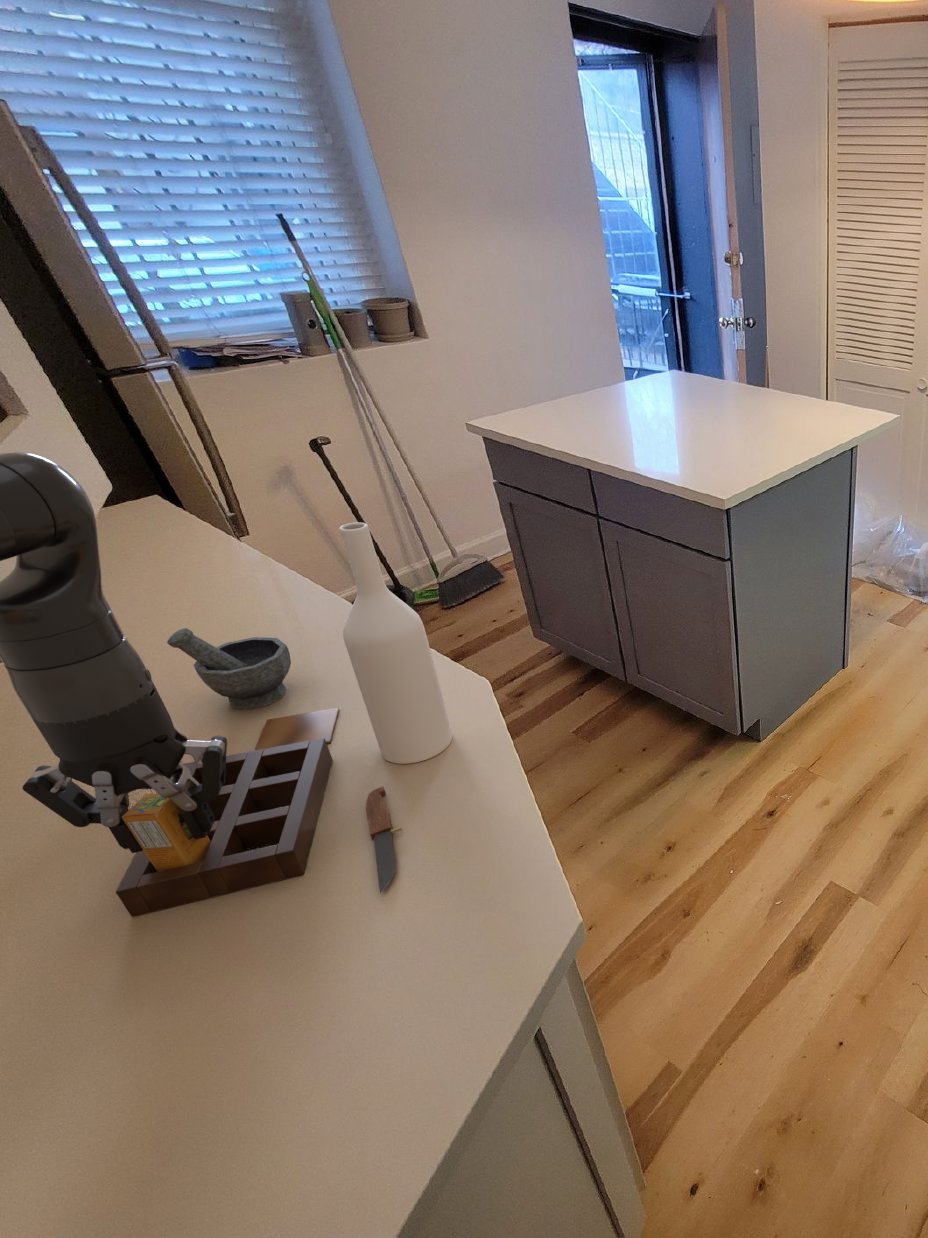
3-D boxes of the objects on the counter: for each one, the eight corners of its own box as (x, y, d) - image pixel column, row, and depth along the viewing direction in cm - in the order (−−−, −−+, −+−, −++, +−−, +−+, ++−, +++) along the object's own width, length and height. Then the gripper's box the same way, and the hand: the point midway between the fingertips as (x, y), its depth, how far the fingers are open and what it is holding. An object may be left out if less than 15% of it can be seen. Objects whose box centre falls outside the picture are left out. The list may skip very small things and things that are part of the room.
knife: (413, 877, 70) (378, 890, 68) (415, 884, 70) (381, 897, 68) (391, 783, 81) (361, 792, 79) (393, 789, 82) (363, 799, 80)
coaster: (253, 758, 85) (252, 755, 85) (267, 721, 91) (266, 719, 91) (330, 743, 88) (329, 741, 88) (339, 709, 95) (338, 707, 94)
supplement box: (187, 864, 71) (146, 790, 66) (224, 862, 71) (186, 789, 66) (163, 890, 68) (118, 815, 63) (201, 889, 68) (160, 813, 63)
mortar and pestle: (299, 671, 102) (272, 599, 96) (304, 701, 96) (275, 626, 90) (200, 694, 96) (164, 618, 90) (199, 728, 89) (160, 649, 84)
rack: (131, 917, 65) (114, 892, 63) (194, 786, 80) (183, 763, 79) (304, 874, 70) (293, 850, 69) (333, 760, 86) (324, 737, 84)
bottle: (456, 752, 88) (399, 532, 74) (383, 772, 84) (306, 544, 70) (448, 719, 94) (393, 509, 80) (379, 736, 90) (308, 519, 76)
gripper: (-52, 737, 53) (56, 890, 61) (184, 701, 59) (254, 845, 67) (-1, 686, 59) (92, 833, 67) (210, 658, 65) (272, 796, 73)
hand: (173, 838), depth 67 cm, fingers closed on supplement box, 4 cm apart
